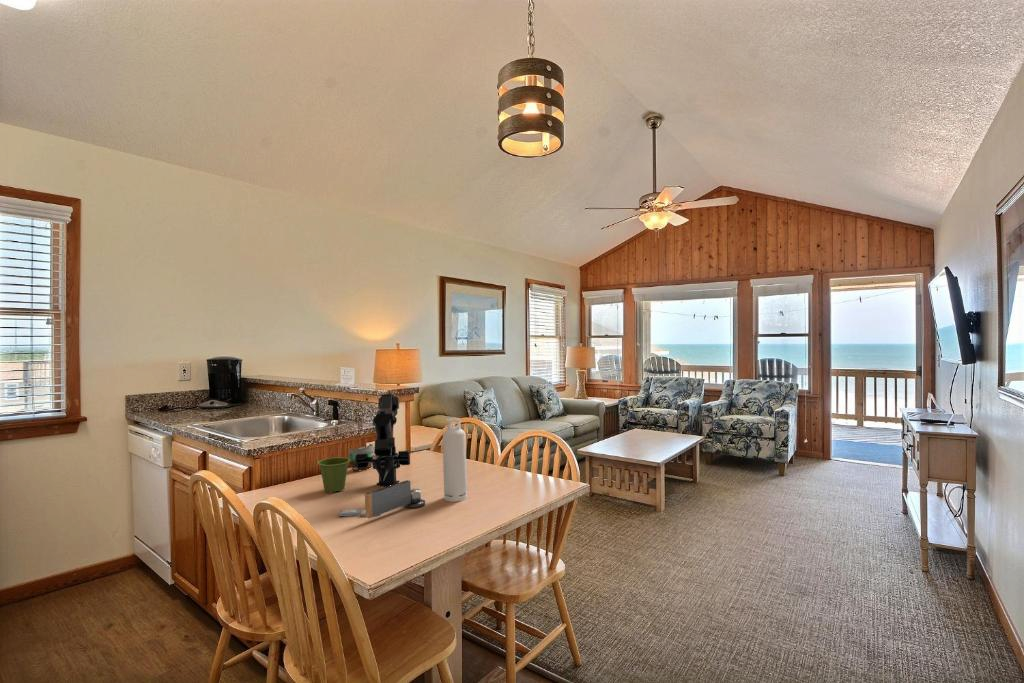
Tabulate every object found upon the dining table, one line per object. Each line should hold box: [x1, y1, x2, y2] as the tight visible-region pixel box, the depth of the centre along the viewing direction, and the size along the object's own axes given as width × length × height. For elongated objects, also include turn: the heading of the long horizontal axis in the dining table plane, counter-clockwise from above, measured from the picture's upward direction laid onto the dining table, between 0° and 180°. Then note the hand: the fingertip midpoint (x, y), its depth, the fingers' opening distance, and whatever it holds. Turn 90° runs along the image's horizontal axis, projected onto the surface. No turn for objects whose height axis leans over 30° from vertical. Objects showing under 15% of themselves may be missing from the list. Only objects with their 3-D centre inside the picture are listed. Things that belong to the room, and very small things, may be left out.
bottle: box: [442, 417, 468, 503], centre depth 177 cm, size 8×8×28 cm
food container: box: [348, 443, 375, 472], centre depth 220 cm, size 12×6×10 cm, turn 147°
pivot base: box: [404, 498, 426, 510], centre depth 170 cm, size 7×7×1 cm
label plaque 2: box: [360, 509, 379, 517], centre depth 162 cm, size 4×6×1 cm, turn 100°
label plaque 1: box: [338, 508, 361, 518], centre depth 163 cm, size 4×6×1 cm, turn 100°
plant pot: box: [317, 456, 351, 493], centre depth 190 cm, size 12×12×11 cm
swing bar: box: [364, 479, 422, 519], centre depth 163 cm, size 22×4×8 cm, turn 143°
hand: (382, 480), depth 172 cm, fingers closed
